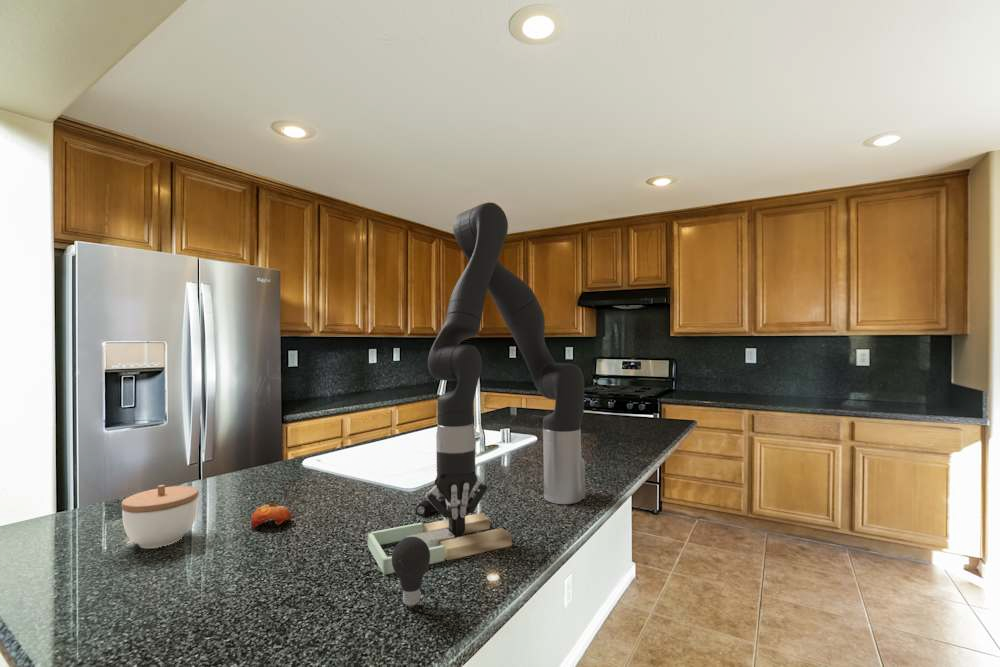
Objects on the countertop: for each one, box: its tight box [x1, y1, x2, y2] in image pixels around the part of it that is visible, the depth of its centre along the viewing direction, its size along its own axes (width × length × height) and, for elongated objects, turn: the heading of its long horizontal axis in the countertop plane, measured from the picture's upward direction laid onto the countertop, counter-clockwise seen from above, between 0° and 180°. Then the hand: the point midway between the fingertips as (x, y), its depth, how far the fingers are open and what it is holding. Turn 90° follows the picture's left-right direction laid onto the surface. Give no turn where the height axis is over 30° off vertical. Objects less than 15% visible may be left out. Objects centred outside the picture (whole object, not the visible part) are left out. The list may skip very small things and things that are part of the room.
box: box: [366, 522, 446, 576], centre depth 90 cm, size 11×13×2 cm
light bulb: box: [391, 537, 430, 608], centre depth 72 cm, size 6×6×10 cm
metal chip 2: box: [427, 528, 455, 547], centre depth 92 cm, size 4×4×2 cm
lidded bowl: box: [121, 484, 200, 550], centre depth 97 cm, size 13×13×11 cm
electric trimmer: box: [414, 493, 471, 518], centre depth 114 cm, size 4×16×3 cm, turn 138°
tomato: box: [250, 499, 293, 531], centre depth 104 cm, size 8×7×7 cm
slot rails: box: [422, 512, 513, 561], centre depth 95 cm, size 13×14×2 cm
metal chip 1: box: [406, 531, 434, 548], centre depth 91 cm, size 4×4×2 cm
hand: (456, 536), depth 94 cm, fingers closed
